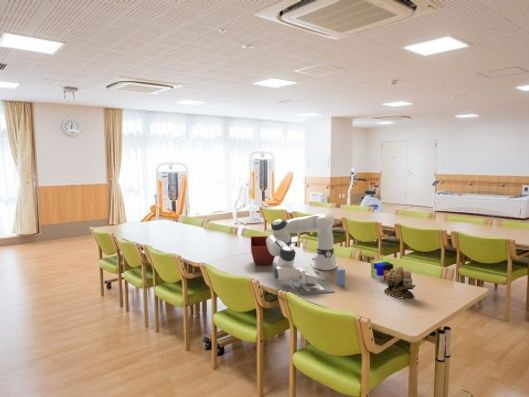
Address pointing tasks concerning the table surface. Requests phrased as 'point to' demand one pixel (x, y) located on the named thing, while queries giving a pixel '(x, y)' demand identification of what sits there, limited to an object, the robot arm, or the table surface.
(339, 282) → the blue block
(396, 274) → the owl figurine
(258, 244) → the plant pot
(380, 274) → the puzzle toy
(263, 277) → the table surface
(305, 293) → the letter board
